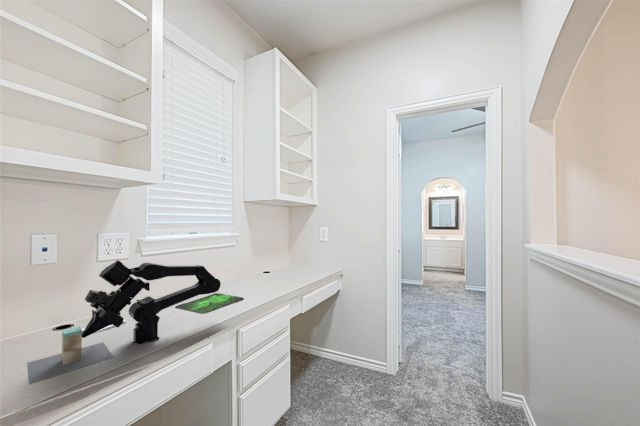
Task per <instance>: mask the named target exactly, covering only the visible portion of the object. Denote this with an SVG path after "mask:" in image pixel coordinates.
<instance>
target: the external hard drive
mask: <svg viewBox="0 0 640 426" xmlns="http://www.w3.org/2000/svg"><path fill="white" fill-rule="evenodd" d="M126 323H127V321H126V320H125V319H123V323H122V324H121V325H124V324H126ZM121 325H120V326H121ZM85 328H86V327H84V328H81V330H82V332H83V331H84V329H85ZM113 328H117V327H116V326H114V325H113V324H112V325H109V326H107V327H105V328H103V329H101V330H99V331H97V332H95V333H93V334H96V333H100V332H104V331H108V330H110V329H113ZM93 334H92V335H93Z"/></svg>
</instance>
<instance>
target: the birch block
mask: <svg viewBox="0 0 640 426" xmlns="http://www.w3.org/2000/svg"><path fill="white" fill-rule="evenodd" d="M81 329H82V328H81V326H77V327H72V328H68V329H64V330H62V331H61V333H62V334H61V335H62V336H61V353H62V362H63V365H66V364H69V363H72V362H76V361H79V360H81V351H82V348H83V347H82V344H83V343H82V341H83V340H82V330H81Z"/></svg>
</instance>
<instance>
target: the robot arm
mask: <svg viewBox="0 0 640 426" xmlns="http://www.w3.org/2000/svg"><path fill="white" fill-rule="evenodd" d="M98 276H99V277H100V278H101V279H103V280H104V281H105V282H107V283H109V284H110V285H112V286H113V287H117V286H118V289H116V290H112V291H110V292H109V293H107V292H106V291H103V290H99V291H98V290H93V289H89V291H88V293H87V294H86V296H85V298H84V300H85V302H86V303H89V305H90V307H92V308H95V310H94V309H92V310H91V319H90V321H89V322H88V323H87V325H86V326H85V327H84V328H85V329H84V328H83V329H84V331H83V332H82V338H83V339H85V338H87V337H89V336H90V335H93V333H94V334H96V333H95V332H97V331H99V330H101V329H103V328H105V327H107V326H109V325H112V324H113V325H114V326H116V327H115V328H120V326H121V324H122V323H123V320H124V317H123V316H122V315H121V314H122V313H121V311H122V310H123V309H124V308H125V307H126V306H127V305H128V306H129V309H128V315H129V317H131V318H132V319H133V320H134V321H135V322H136V323H134V325H135V326H134V327H135V328H133V331H132V332H133V335H132V336H133V337H132V338H133V341H134V342H135V343H136V344H137V345H141V344H145V343H148V342H149V343H150V342H154V341H157V340H160V336H158V332H159V331H158V330H159V329H158V328H159V327H158V326H159V325H158V323H159V321H160V316H158V314H159V313H161V311H163V310H165V309H167V308H170V307H172V306H174V305H177V304H178V305H179V304H180V303H182V302H186V301H188V300H189V299H192V298H195V297H197V296H200V295H211V294H215V293H218V291H219V290H220V288H221V284H222V283H221V280H220V279H218V278H216V277H215V276H214V275H213V274H212V273H210V272H209V271H208V270H207V269H206V267H205V266H203V265H199V264H195V265H164V264H157V263H152V262H144V263H141V264H140V265H139V266H136V267H132V268H129V267H127V266H126V265H124V264H123V262H122V261H120V260H117V259H116V260H115V262H113V263H110V265H108V266H106V267H105V268H103V270H102V271H100V273H99V275H98ZM132 276H134V277H135V278H133V277H132ZM188 276H190V277H191V276H195V277H196V279H197V282H196V283H194V284H193V285H190V286H188V287H185V288H182V289H180V290H177V291H175V292H172V293H169V294H166V295H164V296H161V297H158V298H154V297H152V296H150V295H148V296H145V297H144V298H142V299H136V300H135V302H133V303H132V300H133V299H135V298H136V296H137V295H138V294H139V293H141V291H142V290H145V291H147V292H149V291H150V290H151V289H150V288H151V287H150V284H151V283H150V282H148V281H156V280H160V279H163V278H167V277H188ZM142 279H143V280H145V281H143V280H142ZM122 325H123V324H122ZM97 333H98V332H97Z"/></svg>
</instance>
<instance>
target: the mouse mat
mask: <svg viewBox="0 0 640 426" xmlns="http://www.w3.org/2000/svg"><path fill="white" fill-rule="evenodd" d="M242 300H244V297H242V296H236V295H230V294H224V293H219V292H214V293H211V294H208V295H206V296H204V297H200V298H197V299H195V300H191V301H188V302H183V303H181V304H180V303H179V304H178V305H176V306H174V308H175V309H179V310H183V311H187V312H192V313H197V314H201V315H203V314H208V313H211V312H214V311H216V310H218V309H222V308H224V307H227V306H230V305H232V304H235V303H238V302H239V301H242Z"/></svg>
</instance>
